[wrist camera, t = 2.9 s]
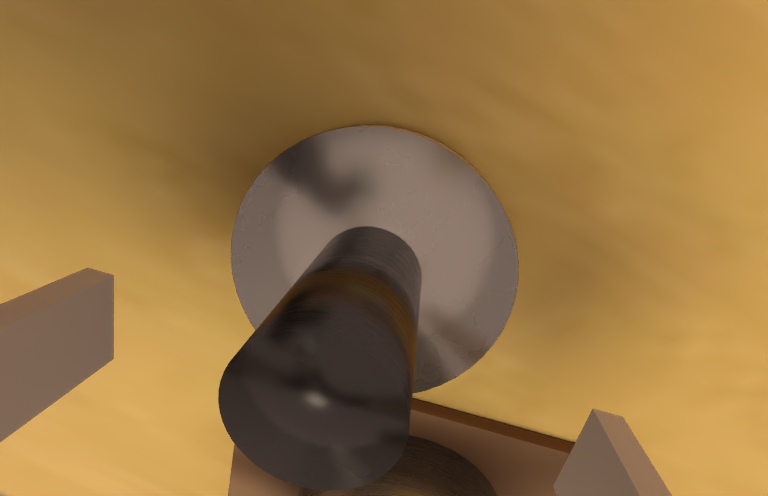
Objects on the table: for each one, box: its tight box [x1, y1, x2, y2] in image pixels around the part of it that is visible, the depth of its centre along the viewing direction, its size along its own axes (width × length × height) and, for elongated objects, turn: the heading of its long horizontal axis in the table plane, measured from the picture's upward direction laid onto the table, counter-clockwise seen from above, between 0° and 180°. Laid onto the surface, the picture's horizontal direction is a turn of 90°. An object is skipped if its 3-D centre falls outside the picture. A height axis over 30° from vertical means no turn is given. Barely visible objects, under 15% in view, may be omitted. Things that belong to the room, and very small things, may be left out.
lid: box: [219, 125, 518, 491], centre depth 13 cm, size 12×12×10 cm
